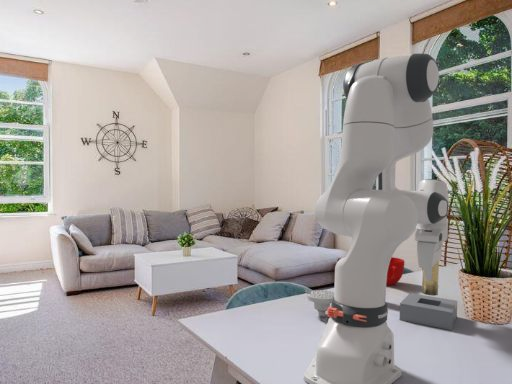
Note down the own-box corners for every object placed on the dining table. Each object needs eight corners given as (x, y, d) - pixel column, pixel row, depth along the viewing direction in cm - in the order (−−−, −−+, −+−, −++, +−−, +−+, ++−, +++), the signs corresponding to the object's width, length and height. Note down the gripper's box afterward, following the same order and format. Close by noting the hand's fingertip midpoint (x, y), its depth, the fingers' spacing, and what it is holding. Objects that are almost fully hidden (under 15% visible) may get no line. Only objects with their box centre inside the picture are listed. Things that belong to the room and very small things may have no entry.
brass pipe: (436, 296, 115) (437, 262, 115) (420, 293, 118) (421, 260, 117) (438, 293, 119) (439, 260, 119) (423, 290, 121) (424, 258, 121)
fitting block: (451, 330, 109) (452, 312, 109) (399, 319, 116) (400, 303, 116) (456, 316, 121) (457, 300, 120) (409, 308, 128) (409, 293, 128)
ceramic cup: (378, 289, 150) (378, 263, 150) (367, 279, 167) (368, 256, 167) (412, 290, 150) (412, 265, 150) (397, 280, 167) (398, 256, 167)
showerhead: (306, 286, 125) (338, 288, 123) (305, 308, 125) (337, 311, 123) (304, 294, 116) (338, 296, 114) (303, 318, 116) (337, 321, 114)
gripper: (426, 229, 128) (424, 270, 129) (413, 235, 111) (412, 283, 111) (447, 230, 125) (445, 273, 125) (437, 237, 108) (436, 286, 108)
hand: (430, 278), depth 118 cm, fingers closed on brass pipe, 4 cm apart
